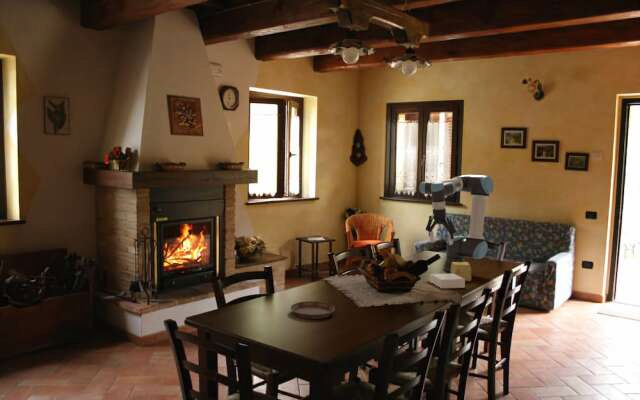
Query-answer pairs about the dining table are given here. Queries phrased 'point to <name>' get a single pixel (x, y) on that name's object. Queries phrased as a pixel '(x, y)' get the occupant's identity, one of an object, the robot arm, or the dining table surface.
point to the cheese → (461, 270)
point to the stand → (447, 280)
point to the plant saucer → (312, 309)
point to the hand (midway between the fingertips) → (441, 243)
